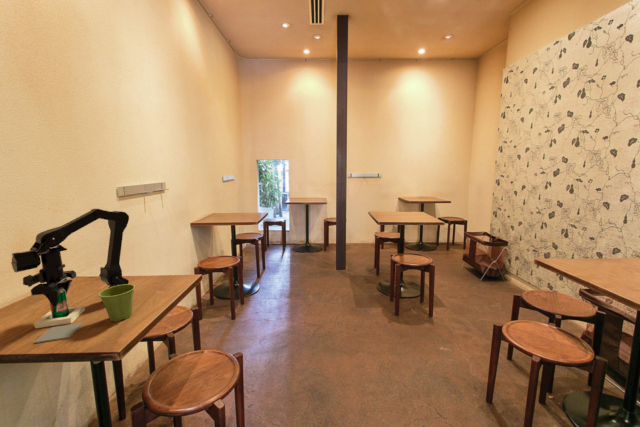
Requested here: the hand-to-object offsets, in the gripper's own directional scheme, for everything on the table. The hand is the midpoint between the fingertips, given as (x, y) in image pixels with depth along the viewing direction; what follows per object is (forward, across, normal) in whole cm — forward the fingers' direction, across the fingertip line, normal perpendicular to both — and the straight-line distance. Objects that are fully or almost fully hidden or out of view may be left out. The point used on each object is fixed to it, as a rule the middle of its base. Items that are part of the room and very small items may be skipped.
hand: (58, 303), depth 116 cm
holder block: (+6, 0, 0) cm, 6 cm away
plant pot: (+7, +7, +22) cm, 25 cm away
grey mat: (+6, +13, +6) cm, 16 cm away
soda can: (+7, 0, 0) cm, 7 cm away
